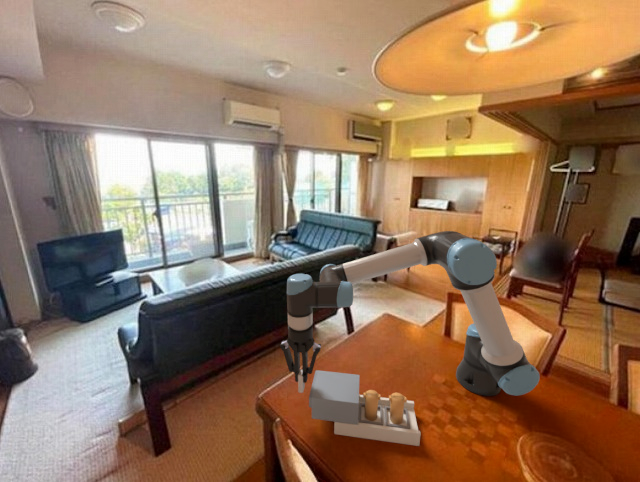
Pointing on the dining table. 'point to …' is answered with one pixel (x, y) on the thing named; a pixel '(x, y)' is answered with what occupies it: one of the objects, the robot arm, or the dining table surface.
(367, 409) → the tan rounded piece
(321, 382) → the lid
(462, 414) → the dining table surface
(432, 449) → the dining table surface
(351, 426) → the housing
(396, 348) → the dining table surface
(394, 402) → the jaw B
